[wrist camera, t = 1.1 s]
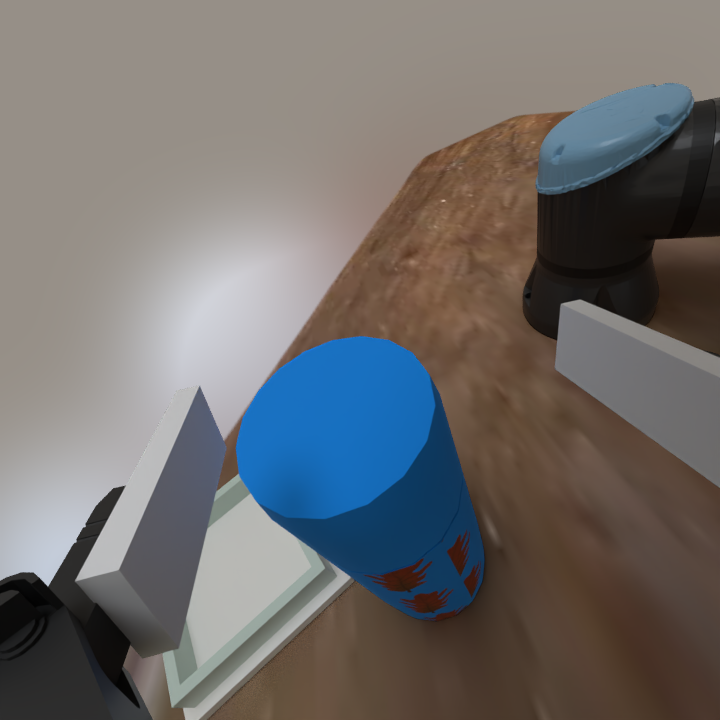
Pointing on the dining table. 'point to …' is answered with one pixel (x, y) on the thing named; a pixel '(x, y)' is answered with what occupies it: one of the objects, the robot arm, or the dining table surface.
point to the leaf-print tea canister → (366, 473)
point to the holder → (244, 602)
